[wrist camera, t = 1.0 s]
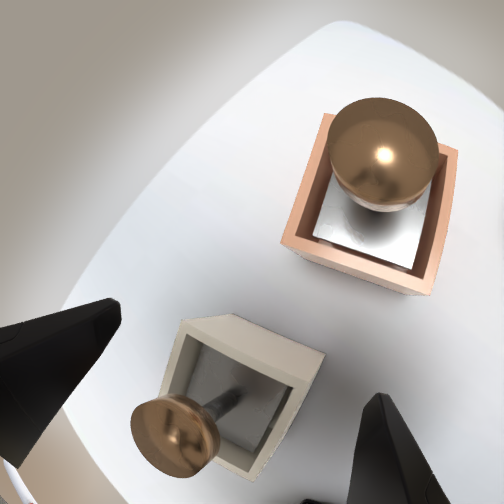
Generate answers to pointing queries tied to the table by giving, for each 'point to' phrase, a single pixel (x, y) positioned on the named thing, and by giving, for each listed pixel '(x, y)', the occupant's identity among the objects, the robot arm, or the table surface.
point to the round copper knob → (206, 415)
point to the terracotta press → (358, 263)
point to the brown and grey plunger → (378, 180)
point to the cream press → (256, 357)
